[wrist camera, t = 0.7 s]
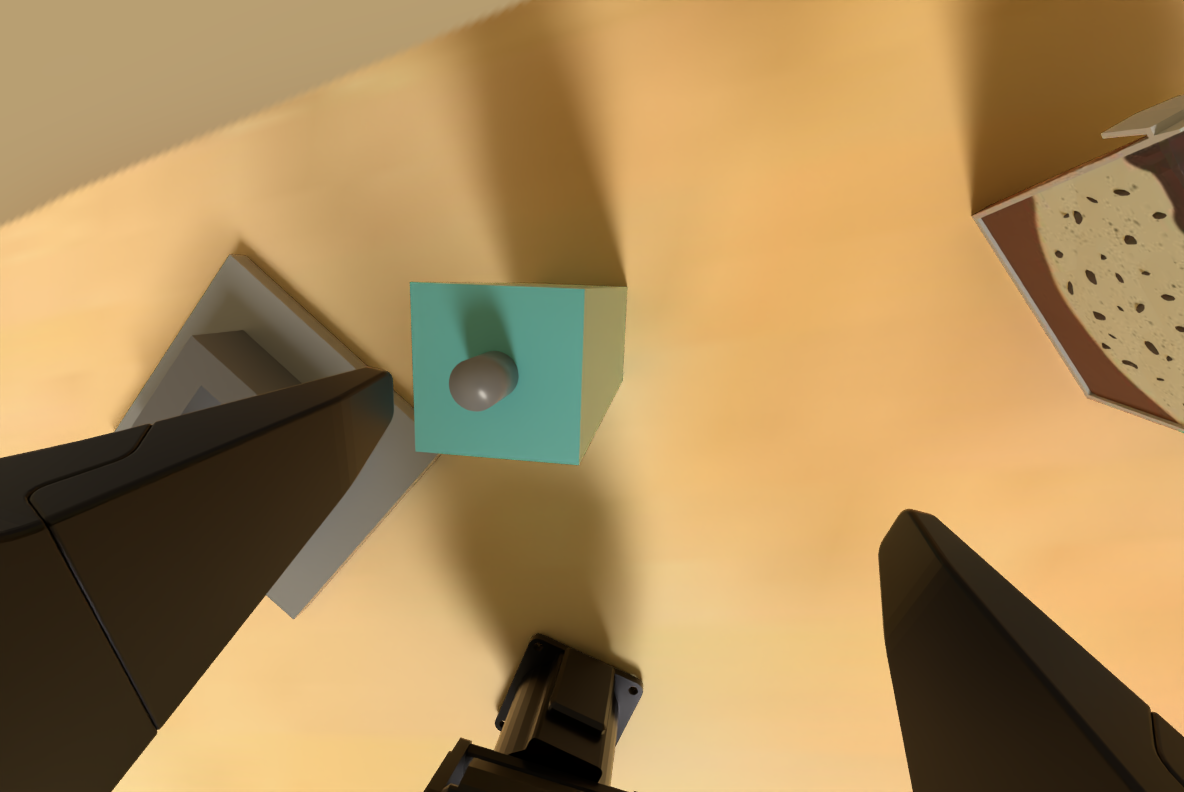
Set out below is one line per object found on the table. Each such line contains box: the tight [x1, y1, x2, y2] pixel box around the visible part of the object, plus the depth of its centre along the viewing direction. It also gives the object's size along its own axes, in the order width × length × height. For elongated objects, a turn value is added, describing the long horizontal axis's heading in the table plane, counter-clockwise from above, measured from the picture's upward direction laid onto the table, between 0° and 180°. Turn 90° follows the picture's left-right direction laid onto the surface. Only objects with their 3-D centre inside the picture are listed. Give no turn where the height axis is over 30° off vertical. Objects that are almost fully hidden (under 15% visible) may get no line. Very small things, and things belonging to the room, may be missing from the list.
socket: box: [115, 254, 441, 619], centre depth 27 cm, size 14×14×4 cm
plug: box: [410, 282, 627, 465], centre depth 19 cm, size 4×4×14 cm
